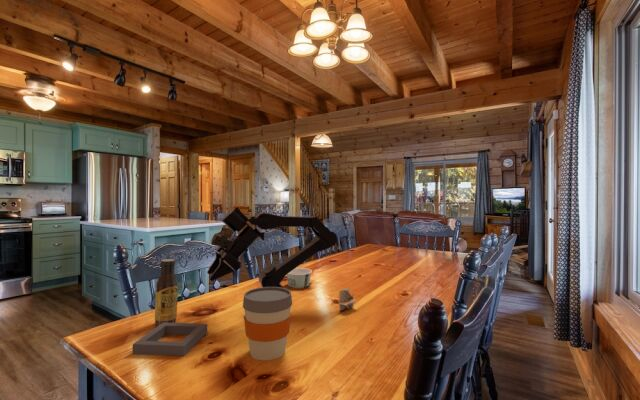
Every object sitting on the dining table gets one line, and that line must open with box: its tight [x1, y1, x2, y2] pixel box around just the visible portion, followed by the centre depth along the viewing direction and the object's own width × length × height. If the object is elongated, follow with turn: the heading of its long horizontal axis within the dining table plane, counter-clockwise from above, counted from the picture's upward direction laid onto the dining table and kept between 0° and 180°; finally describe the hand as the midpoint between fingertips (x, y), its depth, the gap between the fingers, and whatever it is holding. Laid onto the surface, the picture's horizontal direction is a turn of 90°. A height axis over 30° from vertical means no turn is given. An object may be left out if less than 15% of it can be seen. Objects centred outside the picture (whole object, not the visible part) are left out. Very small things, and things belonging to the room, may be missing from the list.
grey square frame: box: [132, 322, 208, 357], centre depth 85 cm, size 14×14×2 cm
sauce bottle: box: [154, 258, 179, 327], centre depth 98 cm, size 7×6×20 cm
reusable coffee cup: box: [242, 286, 293, 362], centre depth 80 cm, size 13×12×15 cm
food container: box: [286, 267, 313, 289], centre depth 140 cm, size 12×12×6 cm
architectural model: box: [337, 287, 357, 312], centre depth 110 cm, size 3×7×7 cm, turn 139°
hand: (209, 276), depth 102 cm, fingers open, 9 cm apart
